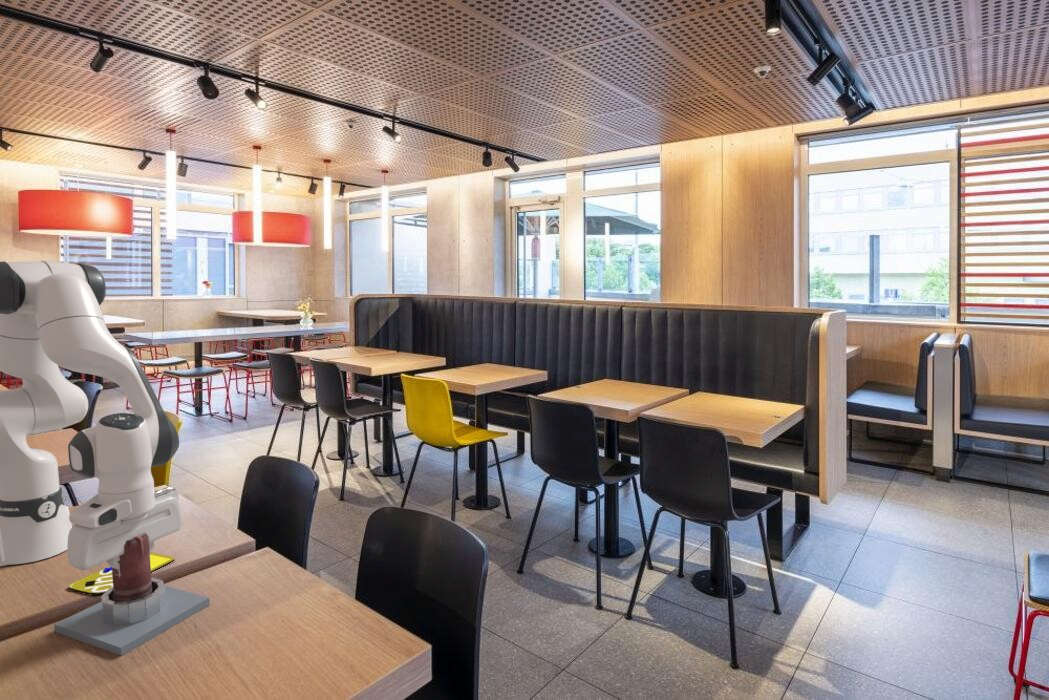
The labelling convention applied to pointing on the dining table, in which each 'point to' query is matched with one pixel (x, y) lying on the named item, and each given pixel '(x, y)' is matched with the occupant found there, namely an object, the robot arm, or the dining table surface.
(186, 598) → the base board
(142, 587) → the can
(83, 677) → the dining table surface
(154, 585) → the ring holder
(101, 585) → the game console
